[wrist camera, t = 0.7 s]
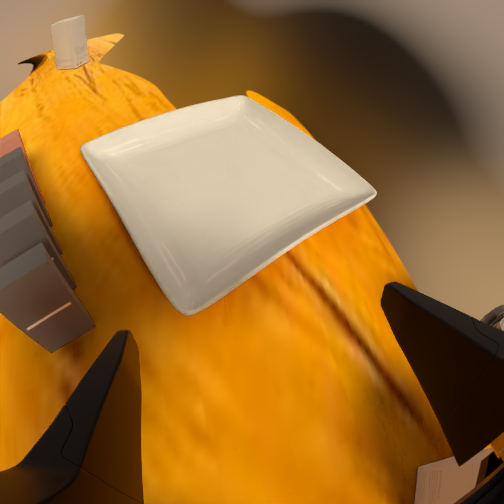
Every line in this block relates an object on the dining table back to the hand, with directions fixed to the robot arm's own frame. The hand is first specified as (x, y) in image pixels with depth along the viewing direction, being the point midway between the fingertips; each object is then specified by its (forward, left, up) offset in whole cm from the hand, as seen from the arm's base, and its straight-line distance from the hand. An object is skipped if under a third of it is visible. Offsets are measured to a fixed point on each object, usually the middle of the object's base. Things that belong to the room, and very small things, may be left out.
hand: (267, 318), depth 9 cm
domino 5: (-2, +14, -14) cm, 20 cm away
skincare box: (+49, +68, -15) cm, 85 cm away
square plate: (+21, +10, -15) cm, 28 cm away
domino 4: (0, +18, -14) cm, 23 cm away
